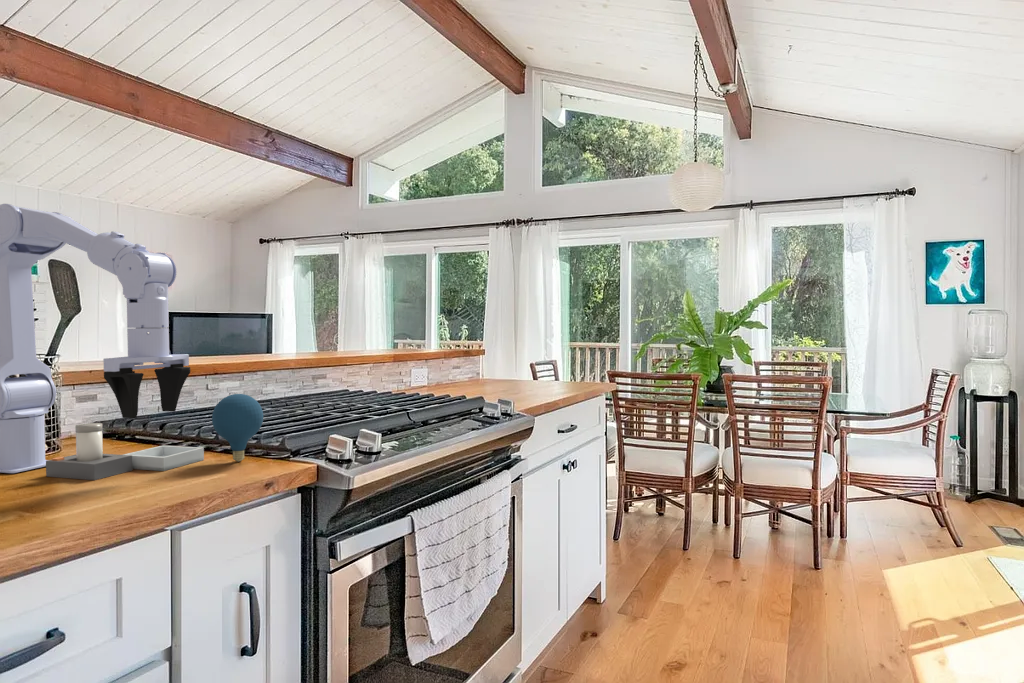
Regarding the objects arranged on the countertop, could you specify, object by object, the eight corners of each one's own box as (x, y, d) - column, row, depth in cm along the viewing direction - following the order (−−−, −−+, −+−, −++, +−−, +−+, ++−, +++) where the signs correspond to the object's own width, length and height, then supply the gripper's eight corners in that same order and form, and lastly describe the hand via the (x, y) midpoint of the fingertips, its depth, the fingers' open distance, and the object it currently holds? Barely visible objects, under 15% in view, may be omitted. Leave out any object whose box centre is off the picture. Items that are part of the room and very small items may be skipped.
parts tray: (121, 467, 109) (120, 455, 109) (163, 457, 118) (163, 445, 118) (163, 470, 107) (163, 457, 107) (203, 459, 116) (203, 447, 116)
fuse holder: (46, 476, 104) (45, 459, 103) (86, 467, 110) (85, 450, 110) (94, 480, 101) (94, 462, 101) (132, 470, 108) (132, 453, 107)
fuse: (70, 475, 104) (69, 426, 104) (91, 470, 108) (90, 422, 108) (88, 476, 103) (87, 427, 103) (109, 471, 107) (107, 423, 107)
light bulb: (245, 467, 109) (244, 396, 109) (201, 465, 111) (200, 396, 111) (273, 457, 117) (272, 391, 117) (232, 455, 119) (231, 391, 119)
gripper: (129, 328, 93) (131, 421, 94) (203, 327, 107) (204, 409, 108) (91, 328, 95) (93, 420, 96) (168, 328, 109) (170, 407, 110)
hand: (150, 414), depth 102 cm, fingers open, 7 cm apart
